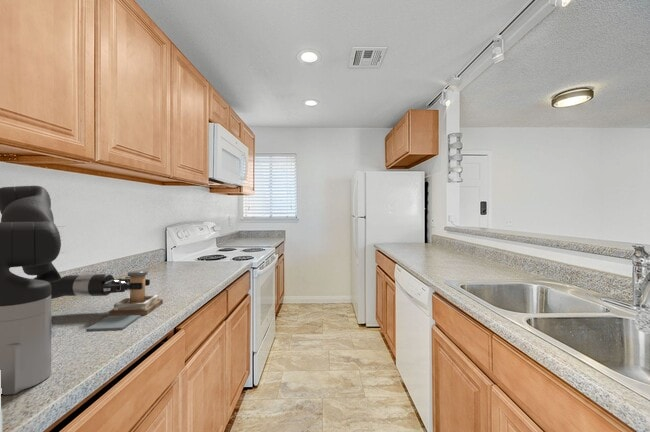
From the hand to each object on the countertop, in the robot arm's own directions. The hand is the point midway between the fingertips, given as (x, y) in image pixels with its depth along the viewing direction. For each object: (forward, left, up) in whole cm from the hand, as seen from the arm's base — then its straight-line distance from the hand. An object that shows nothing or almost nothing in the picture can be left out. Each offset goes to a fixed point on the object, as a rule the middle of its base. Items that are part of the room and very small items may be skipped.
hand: (145, 284), depth 101 cm
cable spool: (0, +3, -7) cm, 8 cm away
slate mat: (-13, +3, -9) cm, 16 cm away
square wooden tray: (0, +3, -9) cm, 9 cm away
